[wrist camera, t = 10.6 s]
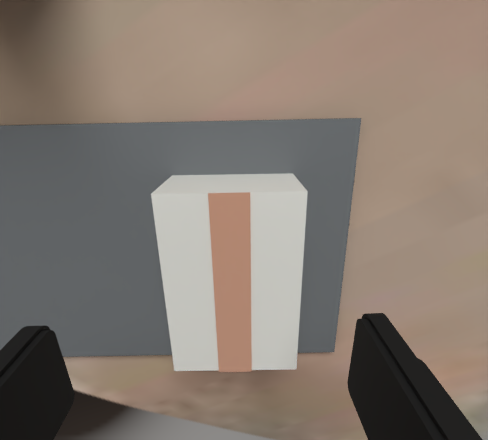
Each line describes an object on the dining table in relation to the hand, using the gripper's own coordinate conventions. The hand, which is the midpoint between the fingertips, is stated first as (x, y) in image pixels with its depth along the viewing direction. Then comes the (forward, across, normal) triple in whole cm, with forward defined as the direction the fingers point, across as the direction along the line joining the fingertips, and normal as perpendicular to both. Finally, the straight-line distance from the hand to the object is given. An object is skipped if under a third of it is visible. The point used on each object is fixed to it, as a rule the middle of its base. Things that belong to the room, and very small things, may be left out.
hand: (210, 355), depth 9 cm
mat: (+8, +5, 0) cm, 9 cm away
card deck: (+7, -1, 0) cm, 7 cm away
